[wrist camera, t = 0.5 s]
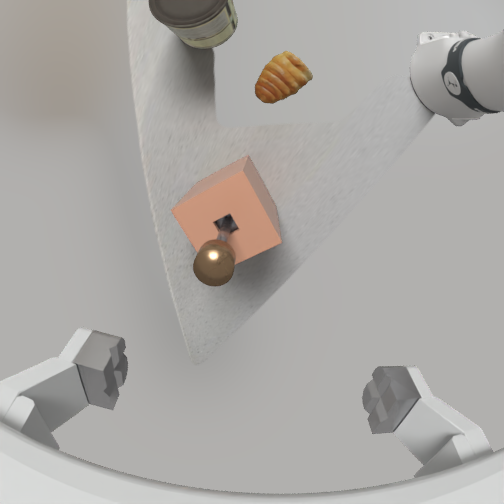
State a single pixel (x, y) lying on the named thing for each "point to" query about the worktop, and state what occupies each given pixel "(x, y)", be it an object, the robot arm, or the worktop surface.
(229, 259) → the plunger
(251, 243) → the block
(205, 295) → the worktop surface
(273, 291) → the worktop surface
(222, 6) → the coffee can
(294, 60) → the pastry
